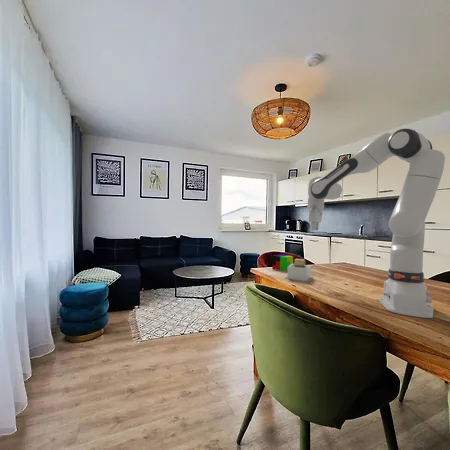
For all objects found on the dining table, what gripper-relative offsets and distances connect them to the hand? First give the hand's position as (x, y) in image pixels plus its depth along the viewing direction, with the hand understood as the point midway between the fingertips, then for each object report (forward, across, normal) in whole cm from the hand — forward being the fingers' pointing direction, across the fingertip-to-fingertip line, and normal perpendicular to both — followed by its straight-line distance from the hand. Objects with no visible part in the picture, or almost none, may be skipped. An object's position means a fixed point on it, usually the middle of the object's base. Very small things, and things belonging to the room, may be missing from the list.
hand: (315, 230), depth 143 cm
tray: (+29, -1, +8) cm, 30 cm away
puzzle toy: (+30, +22, +25) cm, 45 cm away
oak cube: (+22, -1, +8) cm, 24 cm away
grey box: (+28, -1, +8) cm, 29 cm away
